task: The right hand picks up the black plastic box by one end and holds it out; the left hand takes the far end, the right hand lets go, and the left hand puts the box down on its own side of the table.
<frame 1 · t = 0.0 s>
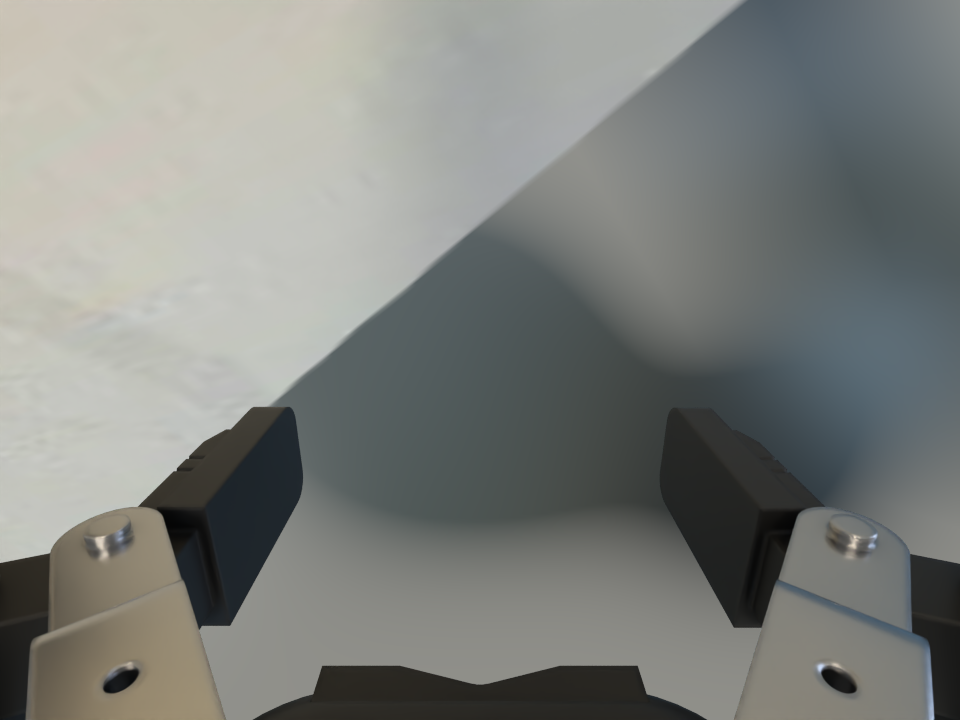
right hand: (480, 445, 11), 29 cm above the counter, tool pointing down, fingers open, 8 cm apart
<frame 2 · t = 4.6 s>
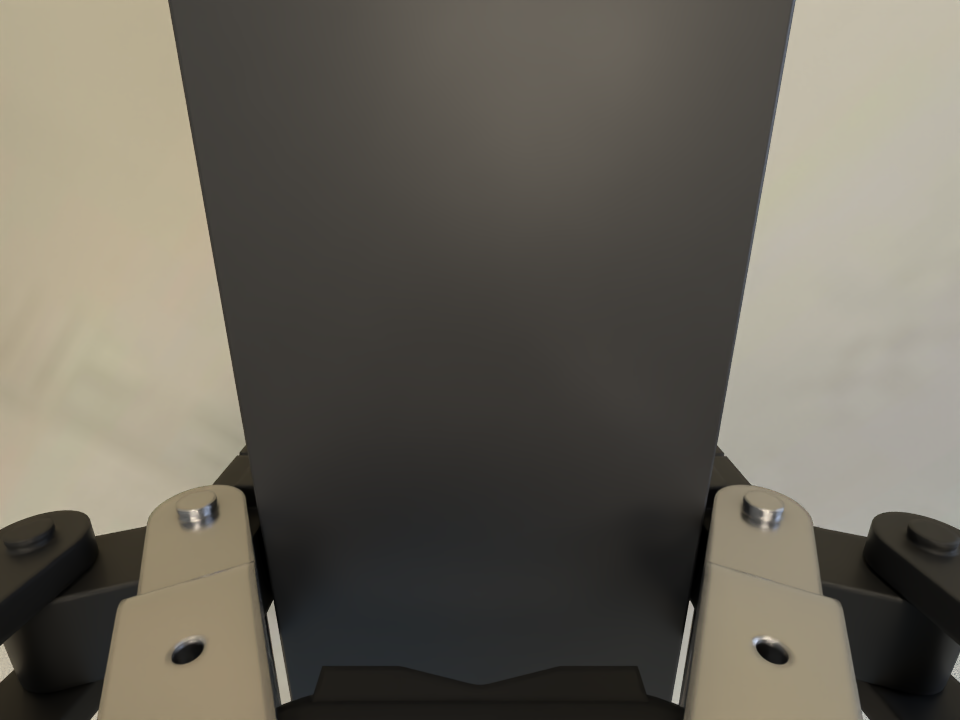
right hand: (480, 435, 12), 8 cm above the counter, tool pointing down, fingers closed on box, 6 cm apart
box: (480, 120, 17), on the counter, touching right hand
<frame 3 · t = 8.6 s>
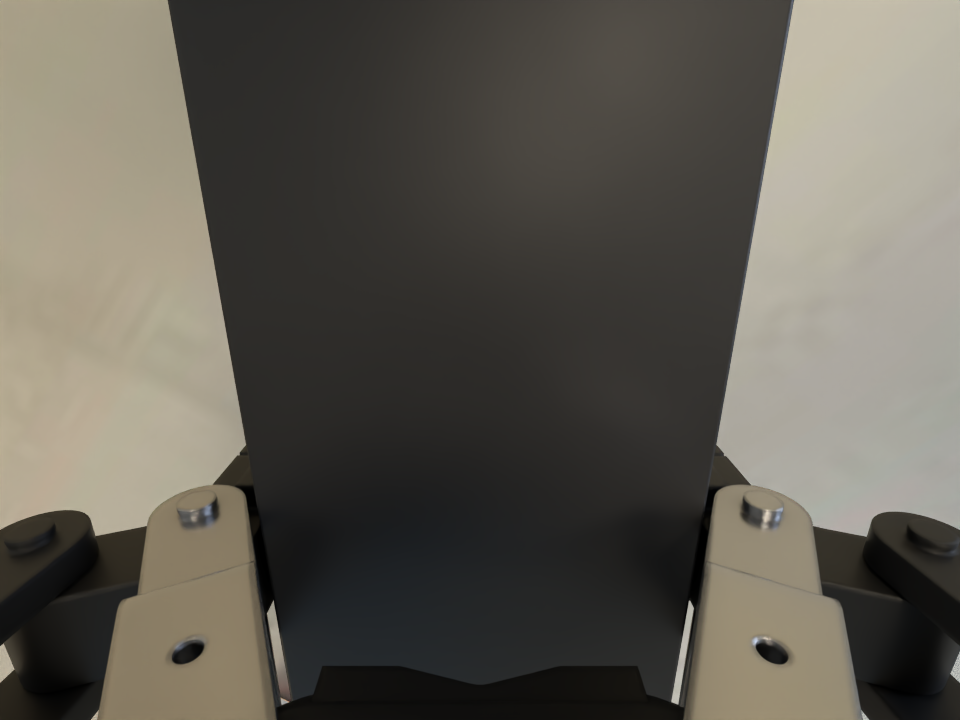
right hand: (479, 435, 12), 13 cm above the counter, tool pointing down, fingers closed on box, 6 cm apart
box: (480, 120, 17), point 5 cm above the counter, touching right hand, left hand
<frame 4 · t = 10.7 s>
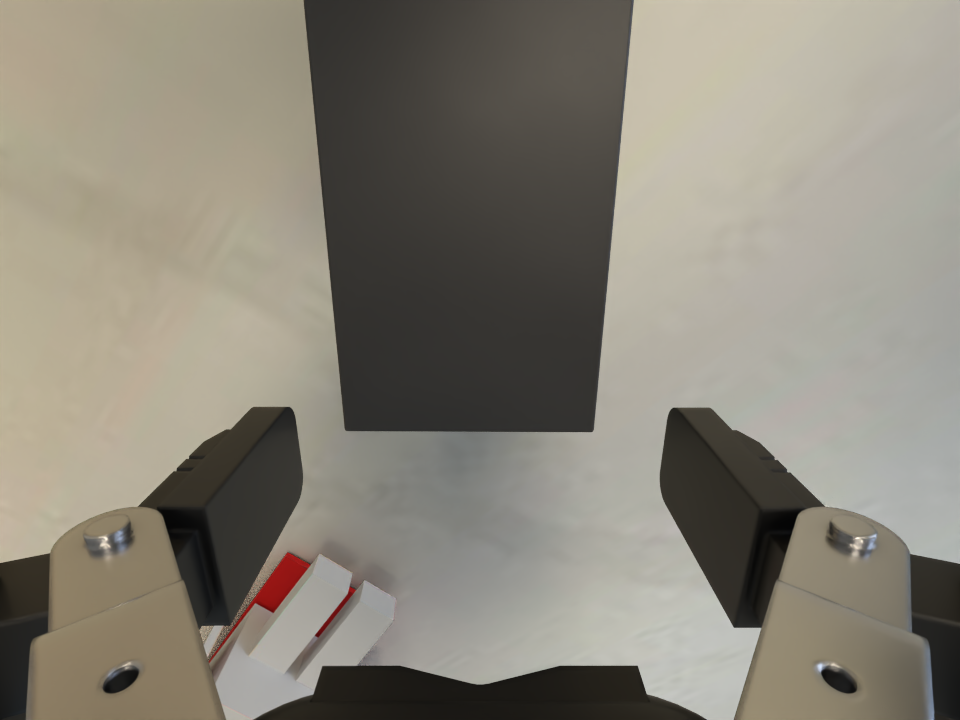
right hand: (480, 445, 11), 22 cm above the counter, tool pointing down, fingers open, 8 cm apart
toy: (265, 662, 43), on the counter
box: (474, 47, 21), point 8 cm above the counter, touching left hand
when the left hand's fingers open (9 cm above the counter, at t = 13.5 s): box stays where it is, on the counter.
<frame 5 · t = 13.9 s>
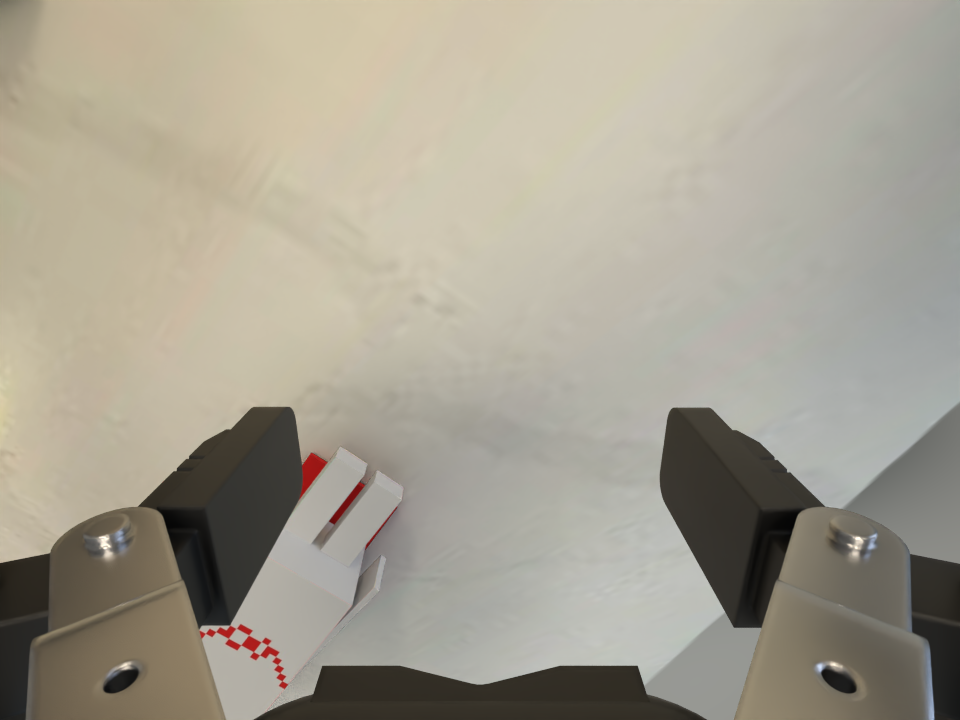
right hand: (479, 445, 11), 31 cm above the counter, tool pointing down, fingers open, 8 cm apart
toy: (290, 554, 50), on the counter
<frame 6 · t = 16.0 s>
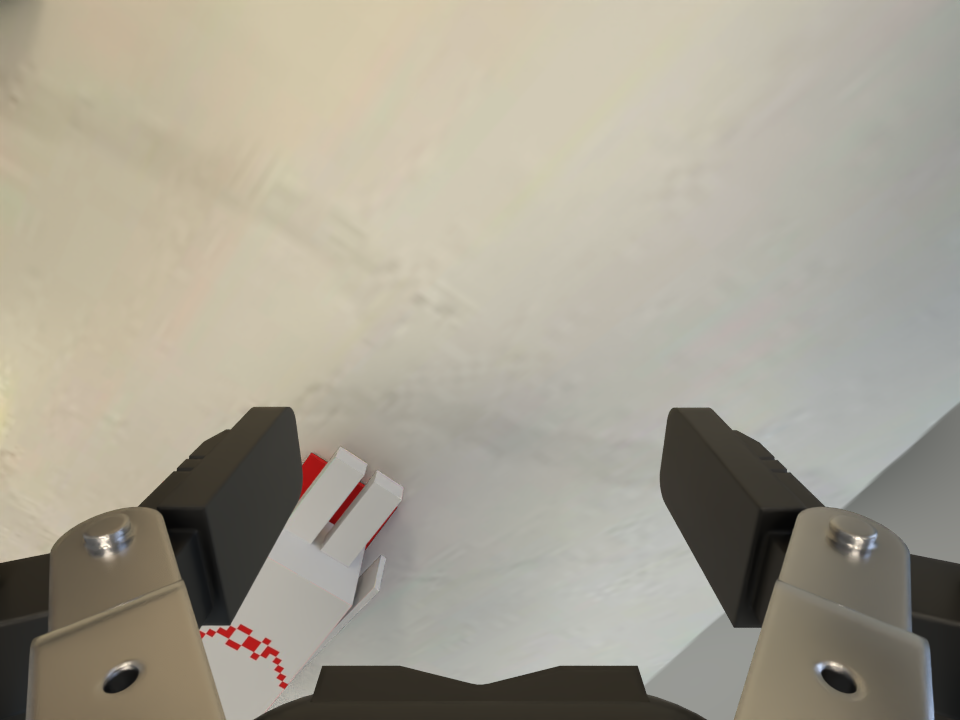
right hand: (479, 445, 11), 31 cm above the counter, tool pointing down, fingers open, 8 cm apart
toy: (290, 554, 50), on the counter
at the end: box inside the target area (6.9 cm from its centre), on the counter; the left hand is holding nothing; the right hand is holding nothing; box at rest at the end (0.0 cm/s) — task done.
